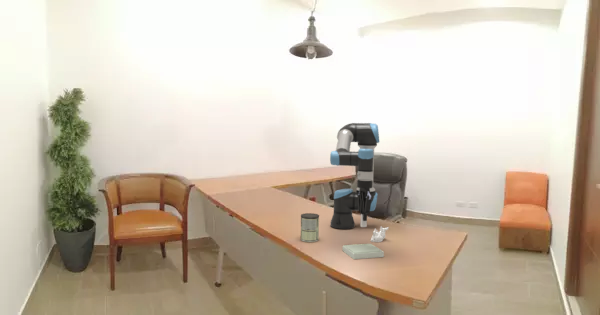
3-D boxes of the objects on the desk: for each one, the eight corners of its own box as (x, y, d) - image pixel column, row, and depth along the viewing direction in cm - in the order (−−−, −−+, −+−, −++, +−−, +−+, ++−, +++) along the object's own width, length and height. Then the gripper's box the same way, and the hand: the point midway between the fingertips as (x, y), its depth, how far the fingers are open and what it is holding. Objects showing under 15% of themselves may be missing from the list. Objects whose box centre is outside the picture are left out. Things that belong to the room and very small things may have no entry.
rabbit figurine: (384, 239, 230) (385, 222, 229) (393, 243, 223) (394, 225, 222) (367, 241, 224) (368, 224, 223) (376, 245, 217) (376, 227, 217)
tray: (342, 250, 206) (342, 245, 206) (370, 248, 210) (370, 243, 210) (353, 259, 192) (354, 253, 192) (383, 256, 197) (383, 250, 197)
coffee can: (297, 238, 229) (298, 213, 228) (314, 236, 233) (314, 212, 232) (304, 242, 219) (304, 217, 218) (321, 241, 223) (322, 216, 222)
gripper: (352, 178, 204) (351, 224, 206) (363, 181, 192) (362, 230, 193) (366, 178, 206) (364, 223, 208) (378, 181, 194) (376, 229, 195)
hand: (363, 226), depth 200 cm, fingers closed
